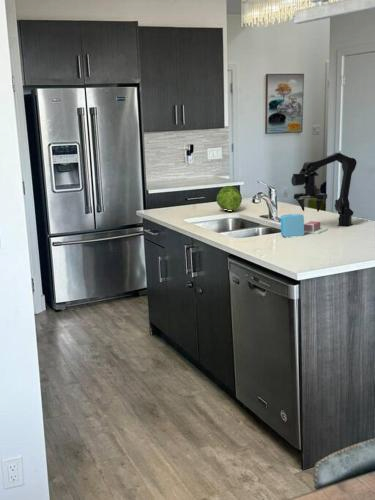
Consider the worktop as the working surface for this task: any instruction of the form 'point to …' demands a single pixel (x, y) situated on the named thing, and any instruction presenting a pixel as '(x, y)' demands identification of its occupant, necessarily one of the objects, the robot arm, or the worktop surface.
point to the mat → (316, 231)
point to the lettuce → (229, 198)
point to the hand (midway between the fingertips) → (310, 211)
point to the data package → (292, 225)
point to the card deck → (311, 226)
